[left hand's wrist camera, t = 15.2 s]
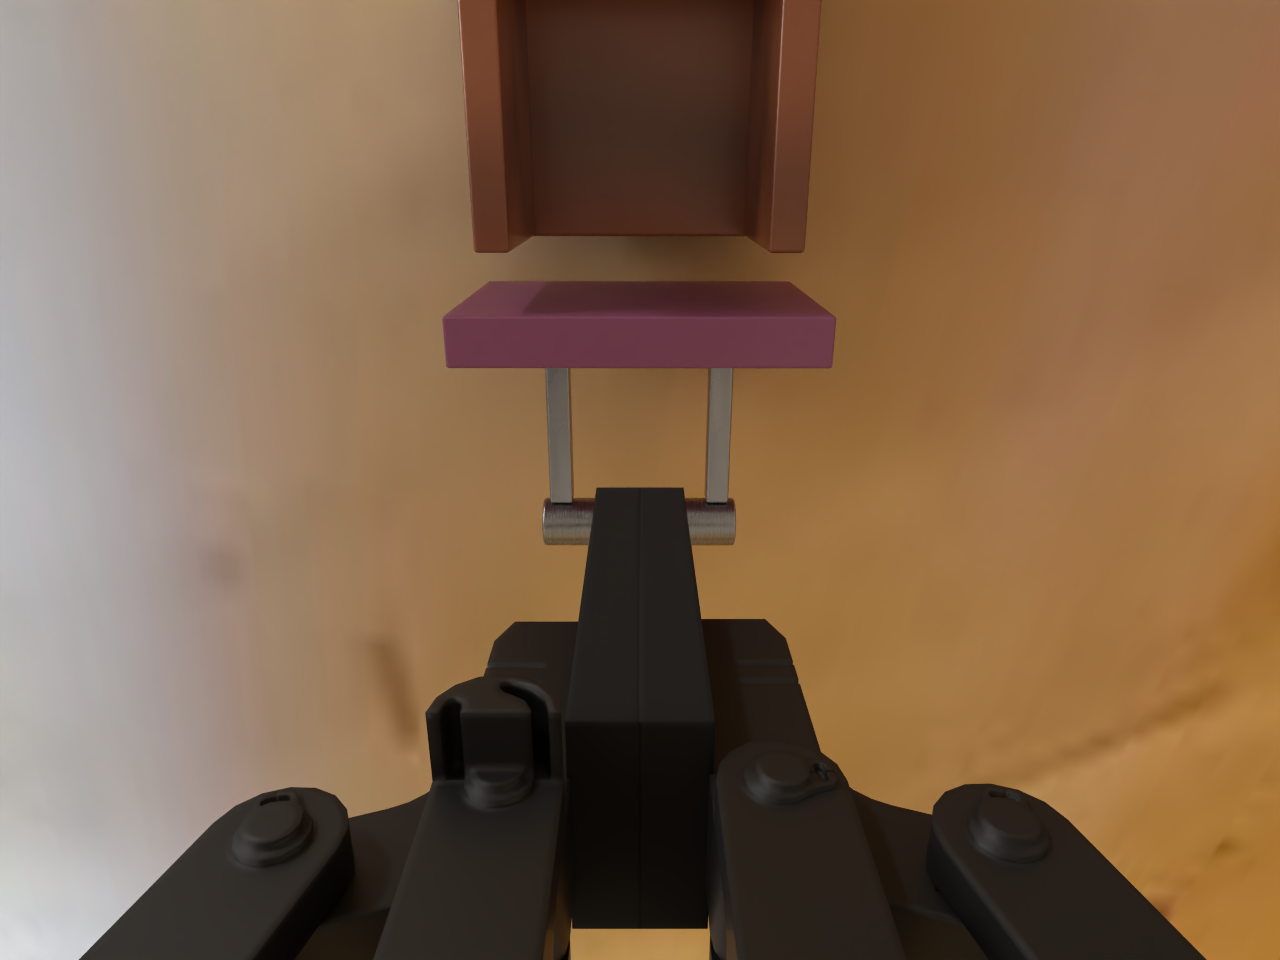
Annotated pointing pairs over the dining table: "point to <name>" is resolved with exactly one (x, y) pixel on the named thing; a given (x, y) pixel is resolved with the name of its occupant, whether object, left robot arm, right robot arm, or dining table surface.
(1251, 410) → the dining table surface
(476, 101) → the drawer
